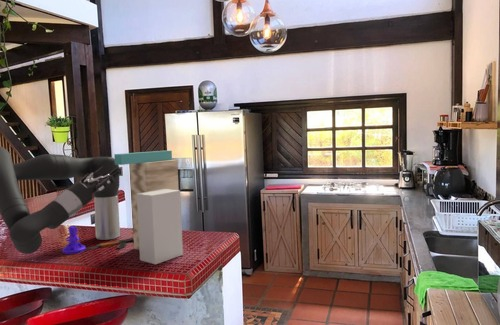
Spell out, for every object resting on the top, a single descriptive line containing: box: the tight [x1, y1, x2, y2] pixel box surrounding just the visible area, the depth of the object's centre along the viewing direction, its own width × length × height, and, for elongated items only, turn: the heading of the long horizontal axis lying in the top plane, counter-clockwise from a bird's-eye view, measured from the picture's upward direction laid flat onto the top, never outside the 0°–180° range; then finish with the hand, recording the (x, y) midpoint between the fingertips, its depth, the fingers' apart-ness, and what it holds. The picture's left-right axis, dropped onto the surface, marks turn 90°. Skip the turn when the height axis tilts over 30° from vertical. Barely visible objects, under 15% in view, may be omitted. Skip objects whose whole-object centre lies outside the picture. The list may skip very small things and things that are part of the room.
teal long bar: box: [113, 150, 173, 166], centre depth 144 cm, size 4×22×4 cm, turn 142°
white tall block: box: [137, 189, 184, 265], centre depth 135 cm, size 8×12×22 cm, turn 142°
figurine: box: [62, 225, 87, 255], centre depth 146 cm, size 8×8×10 cm
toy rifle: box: [85, 237, 134, 251], centre depth 152 cm, size 34×1×10 cm
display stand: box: [129, 159, 180, 251], centre depth 148 cm, size 10×14×32 cm
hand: (111, 169), depth 133 cm, fingers open, 8 cm apart
